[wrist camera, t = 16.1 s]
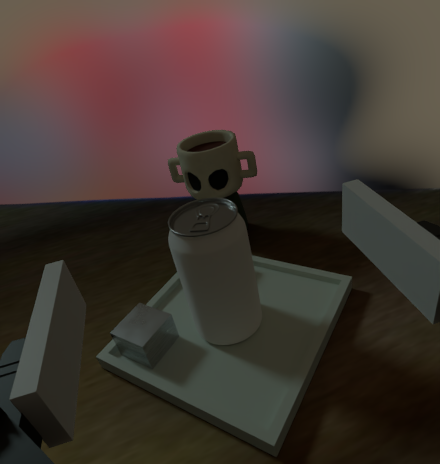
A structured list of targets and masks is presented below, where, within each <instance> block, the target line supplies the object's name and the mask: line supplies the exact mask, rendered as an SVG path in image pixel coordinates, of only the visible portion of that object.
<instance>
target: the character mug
mask: <svg viewBox="0 0 440 464" xmlns="http://www.w3.org/2000/svg"><path fill="white" fill-rule="evenodd" d="M177 154H178V158H171V159H169V160H168V166H169V169H170V173H171V176H172V179H173V181H174V182H176V183H181V182H185V185H186V188H187V190H188V192H189V193H190V194H191V196H193V197H194V198H196V199H198V200H199V199H203V198H213V197H216V198H224V199H228V200H230V201H232V202H234V203H235V204H236V206H237V208H238V213H239V214H240V215H241V217H242V218H243V220H244V221H245V224H246V228H248V222H247V218H246V215H245V211H244V208H243V205H242V203H241V200H240V197H239V194H238V193H237V191H238V189H239V188H240V187H241V185H242V181H243V178H248V177H254V176H256V175H257V167H256V160H255V155H254V153H253V152H251V151H242V152H238V146H237V140H236V136H235V134H234V133H233V132H231V131H226V130H212V131H207V132H202V133H198V134H195V135H192V136H190V137H188V138H186V139H184V140H182V141H181V142H180V143H179V144H178V145H177ZM241 159H247V162H248V168H249V170H242V169H241V163H240V160H241ZM176 165H180V166H181V170H182V174H183V175H179V174H178V171H177V167H176Z"/></svg>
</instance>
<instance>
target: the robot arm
mask: <svg viewBox="0 0 440 464" xmlns="http://www.w3.org/2000/svg"><path fill="white" fill-rule="evenodd" d="M342 232H343V233H344V234H345V235H346V236H347V237H348V238H349V239H350V240H351V241H352V242H353V243H354V244H355V245H356V246H357V247H358V248H359V249H360V250H361V251H362V252H363V253H364V254H365V255H366V256H367V257H368V258H369V259H370V260H371V261H372V263H373V264H374V265H375V266H376V267H377V268H378V269H379V270H380V271H381V272H382V273H383V274H384V275H385V276H386V277H387V278H388V279H389V280H390V281H391V282H392V283H393V284H394V285H395V286H396V287H397V288H398V289H399V290H400V291H401V292H402V293H403V294H404V295H405V296H406V297H407V298H408V299H409V300H410V301H411V302H412V303H413V304H414V305H415V306H416V307H417V308H418V309H419V310H420V312H421V313H422V314H423V315H424V316H425V317H426V318H427V319H428V320H429V321H430V322H431V323H432V324H435V323H438V322H440V227H439V226H438V225H435V224H432V223H429V222H427V221H421V222H417V223H416V222H415V221H413V220H412V219H411V218H409V217H408V216H407V215H405V214H404V213H403V212H401V211H400V210H398V209H397V208H396V207H394V206H393V205H392V204H390V203H389V202H388V201H386V200H385V199H384V198H382V197H381V196H380V195H378V194H377V193H375V192H374V191H373V190H371V189H370V188H369V187H367V186H366V185H365V184H363V183H362V182H361V181H359V180H358V179H357V180H353V181H350V182H346V183H343V189H342ZM85 314H86V303H85V301H84V299H83V297H82V296H81V294H80V292H79V290H78V288H77V286H76V284H75V282H74V280H73V278H72V276H71V274H70V272H69V270H68V268H67V266H66V264H65V262H64V260H61V261H58V262H54V263H50V264H47V265H45V269H44V272H43V276H42V280H41V283H40V287H39V291H38V295H37V298H36V302H35V306H34V309H33V313H32V317H31V321H30V324H29V328H28V332H27V335H26V338H23V339H19V340H16V341H12V342H11V343H10V345H9V346H8V347H7V349H6V350H5V352H4V353H3V354H2V357H1V360H0V464H54V463H53V462H52V461H51V460H50V459H49V458H48V457H47V456H46V455H45V454H44V452H43V451H42V450H41V443H42V440H43V441H44V442H45V443H46V444H47V446H48V447H49V448H51V447H54V446H57V445H60V444H63V443H67V442H70V441H73V435H74V425H75V415H76V405H77V395H78V385H79V374H80V364H81V354H82V344H83V334H84V324H85Z"/></svg>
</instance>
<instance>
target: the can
mask: <svg viewBox="0 0 440 464" xmlns="http://www.w3.org/2000/svg"><path fill="white" fill-rule="evenodd" d="M168 226H169V229H170V232H169V237H168V242H169V246H170V250H171V253H172V256H173V260H174V263H175V266H176V269H177V272H178V275H179V278H180V281H181V284H182V287H183V290H184V293H185V296H186V300H187V303H188V306H189V309H190V312H191V315H192V318H193V321H194V323H195V326H196V329H197V331H198V333H199V335H200V336H201V337H202V338H203V339H204V340H206V341H208V342H210V343H213V344H217V345H233V344H237V343H240V342H242V341H244V340H246V339H247V338H249V337H250V336H251V335H252V334H253V333H254V332H255V331H256V330H257V329H258V327H259V326H260V323H261V320H262V310H261V304H260V298H259V292H258V287H257V281H256V276H255V270H254V265H253V259H252V254H251V249H250V243H249V238H248V233H247V228H246V224H245V221H244V220H243V218H242V217H241V215H240V214H239V213H238V208H237V206H236V204H235V203H234V202H232V201H230V200H228V199H224V198H216V197H213V198H203V199H199V200H195V201H192V202H189V203H187V204H185V205H183V206H181V207H180V208H178V209H177V210H176V211H174V212H173V213H172V215H171V216H170V218H169V220H168Z"/></svg>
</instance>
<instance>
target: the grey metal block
mask: <svg viewBox="0 0 440 464" xmlns="http://www.w3.org/2000/svg"><path fill="white" fill-rule="evenodd" d="M110 334H111V336H112V338H113V340H114V342H115V344H116V346H117V348H118V350H119V352H120V354H121V355H123V356H125V357H127V358H129V359H131V360H133V361H135V362H138V363H140V364H142V365H144V366H146V367H148V368H150V369H152V370H153V369H154V367H155V366H156V365H157V364H158V362H159V361H160V360H161V359H162V357H163V356H164V355H165V354H166V352H167V351H168V350H169V349H170V347H171V346H172V345H173V344H174V343H175V341H176V340H177V339H178V338H179V334H178V331H177V328H176V325H175V323H174V320H173V317H172V315H171V314H170V313H167V312H164V311H161V310H159V309H156V308H153V307H150V306H147V305H144V304H141V303H139V304H138V305H137V306H136V307H135V308H134V309H133V310H132V311H131V312H130V313H129V314H128V315H127V316H126V317H125V318H124V319H123V320H122V321H121V322H120V323H119V324H118V325H117V326H116V327H115V328H114V329H113V330H112V331H111V332H110Z"/></svg>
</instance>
